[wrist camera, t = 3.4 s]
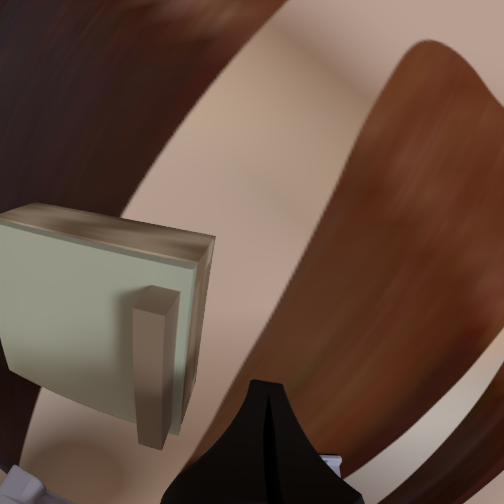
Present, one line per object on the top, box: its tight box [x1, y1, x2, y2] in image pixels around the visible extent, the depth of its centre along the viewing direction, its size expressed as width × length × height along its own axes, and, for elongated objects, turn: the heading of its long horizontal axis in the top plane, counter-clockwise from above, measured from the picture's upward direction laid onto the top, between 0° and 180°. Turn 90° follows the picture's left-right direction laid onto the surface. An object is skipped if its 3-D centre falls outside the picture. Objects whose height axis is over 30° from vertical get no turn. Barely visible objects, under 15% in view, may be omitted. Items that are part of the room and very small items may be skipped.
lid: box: [0, 220, 197, 450], centre depth 13 cm, size 12×10×3 cm
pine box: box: [0, 202, 216, 424], centre depth 16 cm, size 12×10×4 cm
